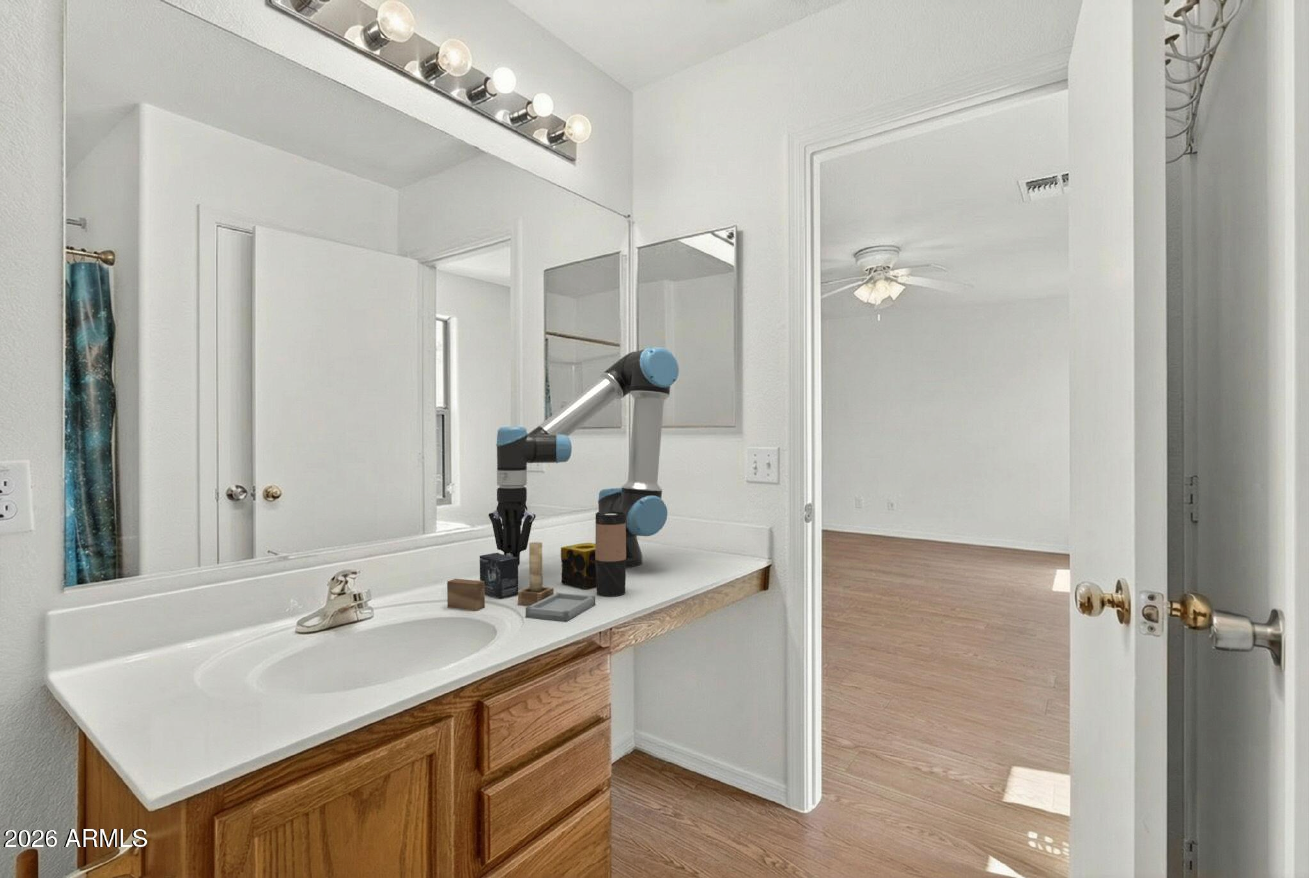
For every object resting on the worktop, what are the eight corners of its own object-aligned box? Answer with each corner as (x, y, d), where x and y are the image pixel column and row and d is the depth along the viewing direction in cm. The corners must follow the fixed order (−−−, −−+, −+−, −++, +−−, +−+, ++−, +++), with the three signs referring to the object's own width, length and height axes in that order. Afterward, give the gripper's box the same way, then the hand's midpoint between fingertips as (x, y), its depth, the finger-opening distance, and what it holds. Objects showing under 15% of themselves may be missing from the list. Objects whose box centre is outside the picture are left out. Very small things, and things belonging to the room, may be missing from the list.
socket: (531, 598, 152) (531, 585, 152) (553, 600, 150) (553, 587, 150) (518, 604, 147) (518, 591, 147) (540, 606, 144) (540, 593, 144)
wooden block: (455, 604, 147) (455, 578, 147) (484, 607, 144) (484, 581, 144) (447, 607, 144) (447, 581, 144) (476, 610, 142) (476, 584, 142)
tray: (557, 600, 150) (557, 592, 150) (595, 604, 146) (595, 596, 146) (525, 617, 137) (525, 607, 137) (566, 621, 133) (566, 612, 133)
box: (478, 593, 158) (478, 555, 158) (497, 588, 162) (497, 552, 162) (499, 599, 151) (499, 560, 151) (519, 595, 155) (519, 556, 155)
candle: (614, 583, 167) (614, 546, 167) (585, 590, 160) (585, 551, 160) (589, 577, 174) (589, 541, 174) (560, 584, 167) (560, 546, 167)
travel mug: (621, 597, 152) (621, 515, 152) (591, 596, 154) (591, 514, 154) (629, 590, 160) (629, 511, 160) (600, 588, 161) (600, 510, 161)
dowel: (533, 600, 150) (533, 541, 150) (544, 601, 149) (544, 542, 149) (527, 603, 147) (526, 544, 147) (538, 604, 146) (537, 544, 146)
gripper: (481, 487, 161) (481, 579, 161) (525, 488, 156) (525, 583, 157) (498, 484, 168) (498, 573, 168) (541, 486, 163) (541, 577, 164)
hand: (511, 577), depth 162 cm, fingers closed
